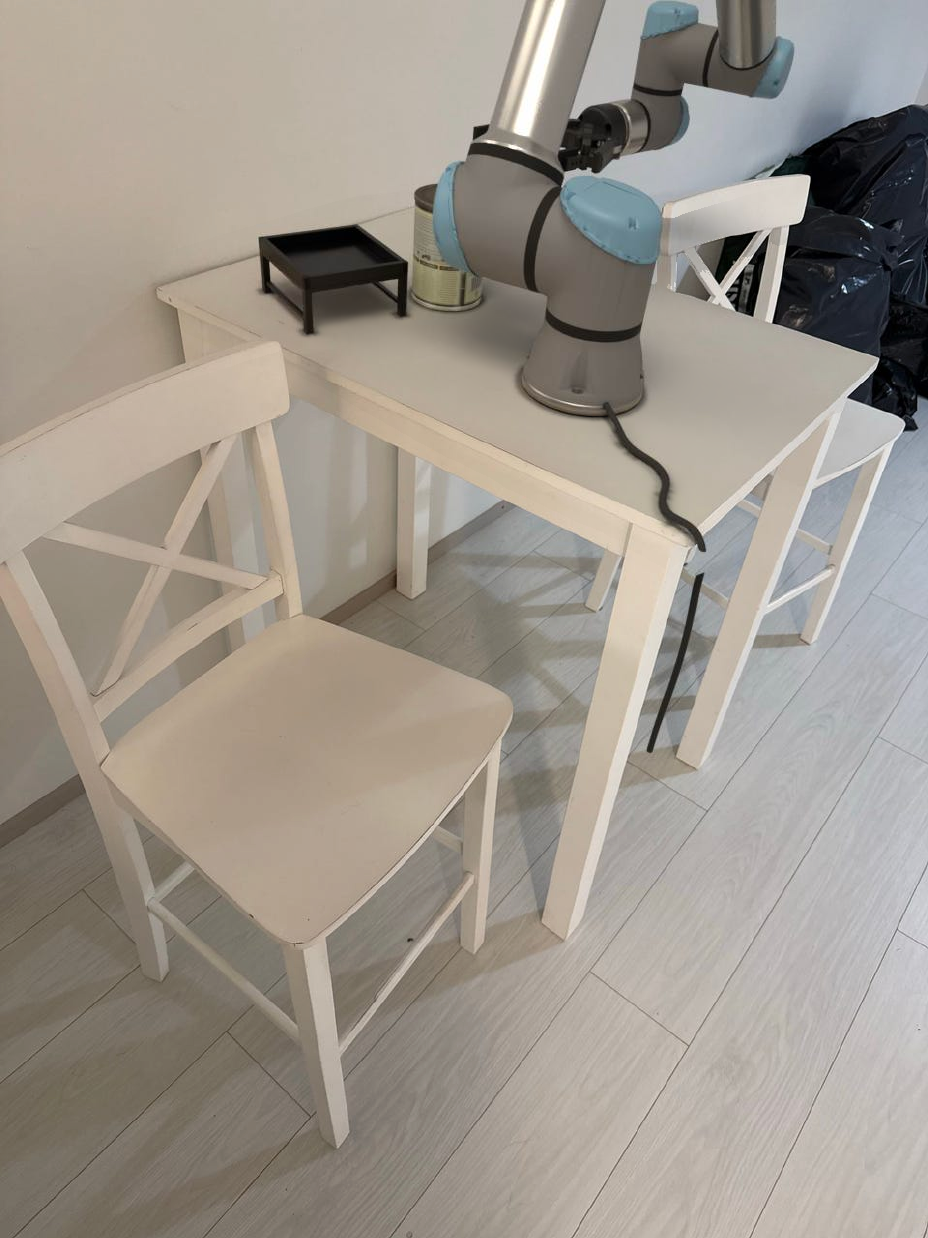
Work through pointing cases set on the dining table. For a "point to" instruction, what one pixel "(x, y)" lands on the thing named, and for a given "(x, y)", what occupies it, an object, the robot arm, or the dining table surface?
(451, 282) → the coffee can
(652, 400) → the dining table surface
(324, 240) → the stand
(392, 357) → the dining table surface
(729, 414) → the dining table surface
